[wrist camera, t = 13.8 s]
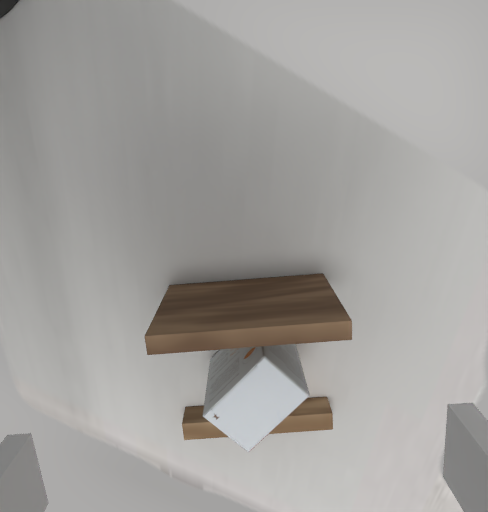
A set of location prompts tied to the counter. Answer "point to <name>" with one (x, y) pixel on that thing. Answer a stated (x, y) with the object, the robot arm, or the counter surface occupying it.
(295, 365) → the small box
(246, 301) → the board
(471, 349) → the counter surface
